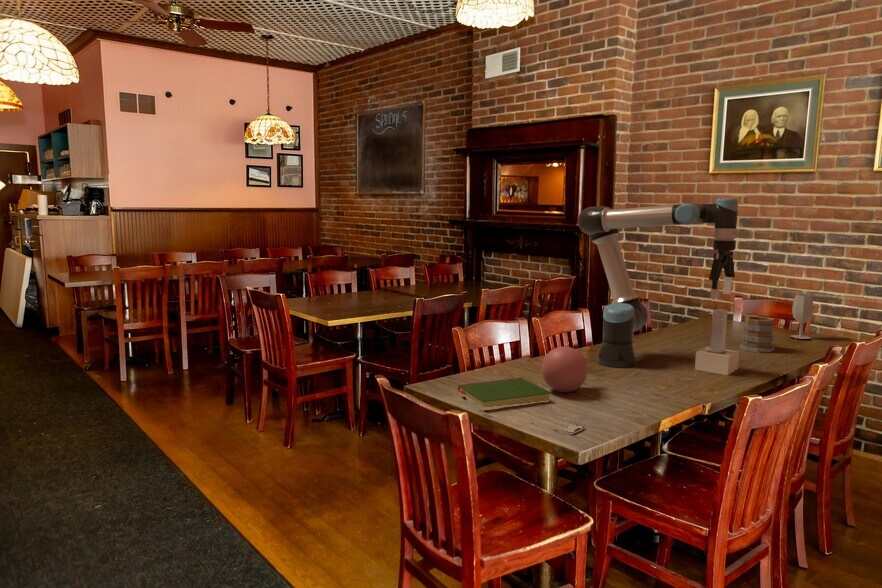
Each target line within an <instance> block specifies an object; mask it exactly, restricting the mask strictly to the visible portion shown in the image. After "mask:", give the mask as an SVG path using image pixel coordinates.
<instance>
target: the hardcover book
mask: <svg viewBox="0 0 882 588" xmlns="http://www.w3.org/2000/svg"><path fill="white" fill-rule="evenodd" d="M457 391H459V392H460V393H462V394H464V395H466V396H467V397H469V398H470V399H472V400H473V401H475V402H476V403H478V404H479V405H481V406H482V407H493V406H503V405H513V404H522V403H531V402H539V401H547V400H550V399H551V398H550V396H551V395H550V394H551V393H552V392H551V391H549V390H547V389H544V388H543V387H541V386H538V385H537V384H535V383H533V382H531V381H529V380H528V379H525V378H523V377H516V378H508V379H499V380H498V379H497V380H492V381H491V380H490V381H482V382H474V383H466V384H458V386H457Z"/></svg>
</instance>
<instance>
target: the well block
mask: <svg viewBox="0 0 882 588" xmlns="http://www.w3.org/2000/svg"><path fill="white" fill-rule="evenodd" d="M710 350H711V346H706V347H703V348H702V349H699V350H698V351H695V362H694V363H695V364H694V370H695V371H700V372H705V371H706V373H712V374H718V375H723V376H729V375H731V374H732V373H734V372H736V371H737V370H738V369H739V359H740V351H738V350H732V349H726V348H725V354H718V353H711V352H710ZM735 370H736V371H735Z"/></svg>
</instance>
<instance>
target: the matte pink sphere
mask: <svg viewBox="0 0 882 588" xmlns="http://www.w3.org/2000/svg"><path fill="white" fill-rule="evenodd" d="M590 360H591V358H590V357H588V356H587V357H584V355H583V354H582V353H581V352H580V351H579V350H577V349H575V348H573V347H570V346H557V347H555V348H553V349H551V350H550V351H548V353H546V355H544V358H543V360H542V363H541V374H542V378H543V380H544V382H545V384H547V385H548V387H549V388H551V389H552V390H555V391H557V392H559V393H560V392H561V393H570V392H573V391H576V390H577V389H579V388H580V387H581V386H582V385H584V383H585V382H586V380H587V377H588V371H589V369H588V368H589V367H588V363H587V362H590Z"/></svg>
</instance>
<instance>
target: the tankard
mask: <svg viewBox="0 0 882 588" xmlns="http://www.w3.org/2000/svg"><path fill="white" fill-rule="evenodd" d="M741 316H742V318H743V317H744V322H743V323H742V334H741V339H742V341H743V342H742V343H740V344H739V347H740V348H739V349H741V348H742V349H741V350H743V349H744V350H743V351H745V350H747V351H746V352H749V351H753V352H752V353H755V352H770V353H773V352H774V351H775V346H773V345H772V343H773V342H774V335H773V331H775V324H774V319H773V318H770V317H767V316H758V315H757V316H754V315H753V316H752V315H749V312H748V311H743V312H742V313H741ZM772 351H773V352H772Z"/></svg>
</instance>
